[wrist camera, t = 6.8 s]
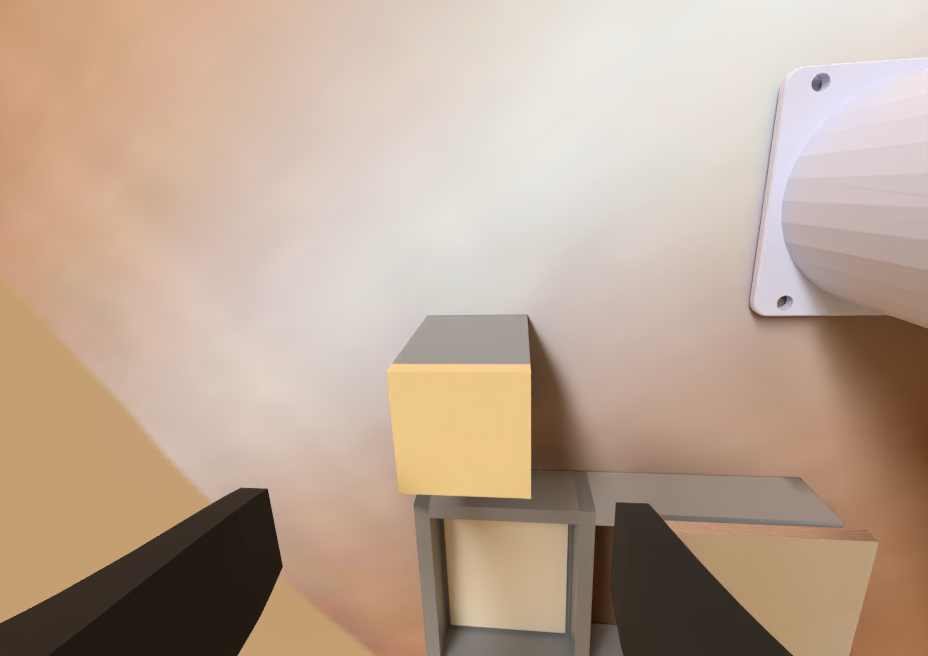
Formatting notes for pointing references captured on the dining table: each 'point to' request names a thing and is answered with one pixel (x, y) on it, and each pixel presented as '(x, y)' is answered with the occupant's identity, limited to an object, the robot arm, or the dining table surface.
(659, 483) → the case
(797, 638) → the lid
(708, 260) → the dining table surface
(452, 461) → the block
